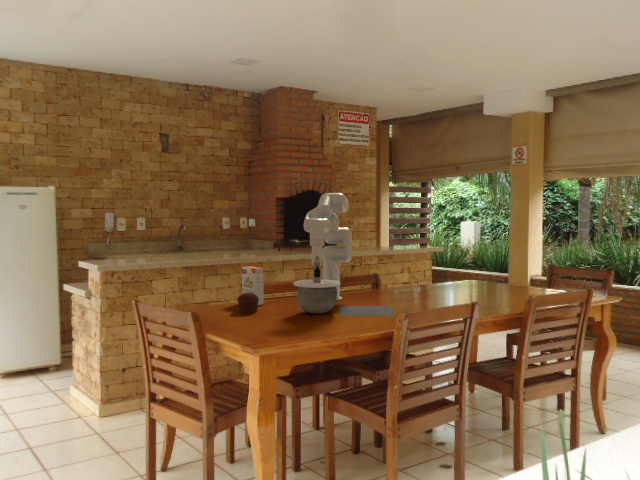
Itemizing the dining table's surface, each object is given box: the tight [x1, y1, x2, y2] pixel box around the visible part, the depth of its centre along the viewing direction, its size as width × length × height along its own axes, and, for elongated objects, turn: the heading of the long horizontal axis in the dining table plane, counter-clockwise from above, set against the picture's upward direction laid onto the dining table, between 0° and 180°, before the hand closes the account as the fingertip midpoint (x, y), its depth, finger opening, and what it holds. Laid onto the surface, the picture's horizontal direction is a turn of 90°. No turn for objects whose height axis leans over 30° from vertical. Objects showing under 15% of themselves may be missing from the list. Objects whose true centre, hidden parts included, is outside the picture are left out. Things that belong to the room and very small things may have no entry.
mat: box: [338, 305, 398, 317], centre depth 311 cm, size 28×28×1 cm
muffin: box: [236, 293, 259, 315], centre depth 310 cm, size 12×11×10 cm
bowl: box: [296, 287, 337, 315], centre depth 306 cm, size 20×20×15 cm
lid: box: [293, 271, 341, 288], centre depth 306 cm, size 24×24×6 cm
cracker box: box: [241, 265, 265, 307], centre depth 334 cm, size 14×6×21 cm, turn 40°
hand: (317, 276), depth 305 cm, fingers open, 9 cm apart
